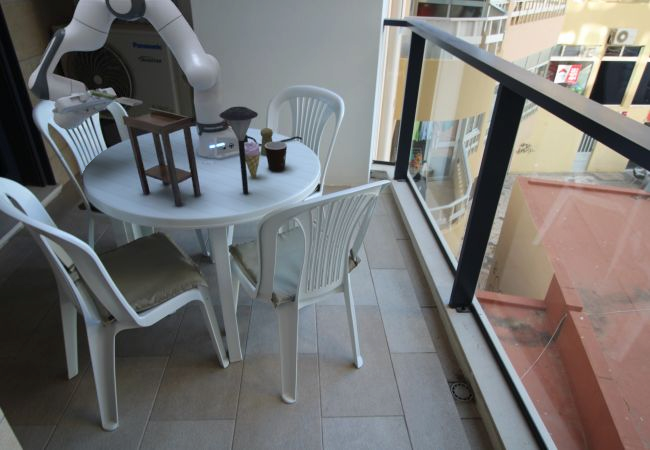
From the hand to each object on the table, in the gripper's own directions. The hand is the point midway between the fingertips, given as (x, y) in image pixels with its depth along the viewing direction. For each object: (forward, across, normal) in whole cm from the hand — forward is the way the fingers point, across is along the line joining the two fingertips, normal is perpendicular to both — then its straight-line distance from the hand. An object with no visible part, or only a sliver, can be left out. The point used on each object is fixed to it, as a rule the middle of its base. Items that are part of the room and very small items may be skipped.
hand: (95, 91), depth 132 cm
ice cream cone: (+22, +26, +49) cm, 60 cm away
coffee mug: (+25, +39, +50) cm, 68 cm away
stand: (+9, 0, +41) cm, 42 cm away
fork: (+7, 0, +5) cm, 9 cm away
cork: (+14, +49, +44) cm, 67 cm away
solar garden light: (+27, +14, +52) cm, 60 cm away
